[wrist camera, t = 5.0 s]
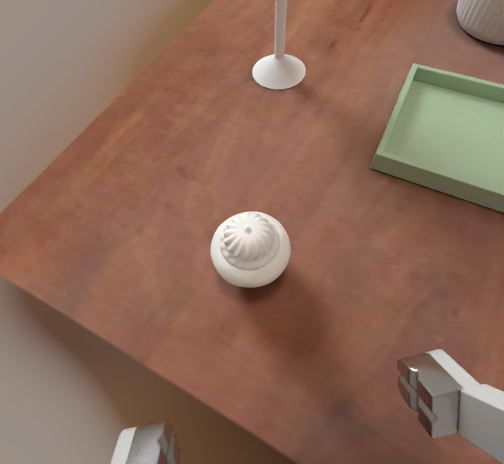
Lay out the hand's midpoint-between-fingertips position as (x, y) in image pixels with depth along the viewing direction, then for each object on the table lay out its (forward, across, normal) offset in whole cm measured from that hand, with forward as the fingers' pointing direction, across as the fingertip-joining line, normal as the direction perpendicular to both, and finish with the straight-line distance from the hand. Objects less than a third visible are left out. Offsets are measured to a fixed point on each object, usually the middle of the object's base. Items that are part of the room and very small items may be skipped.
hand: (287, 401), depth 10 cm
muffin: (+16, 0, +2) cm, 16 cm away
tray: (+20, -26, -3) cm, 33 cm away
